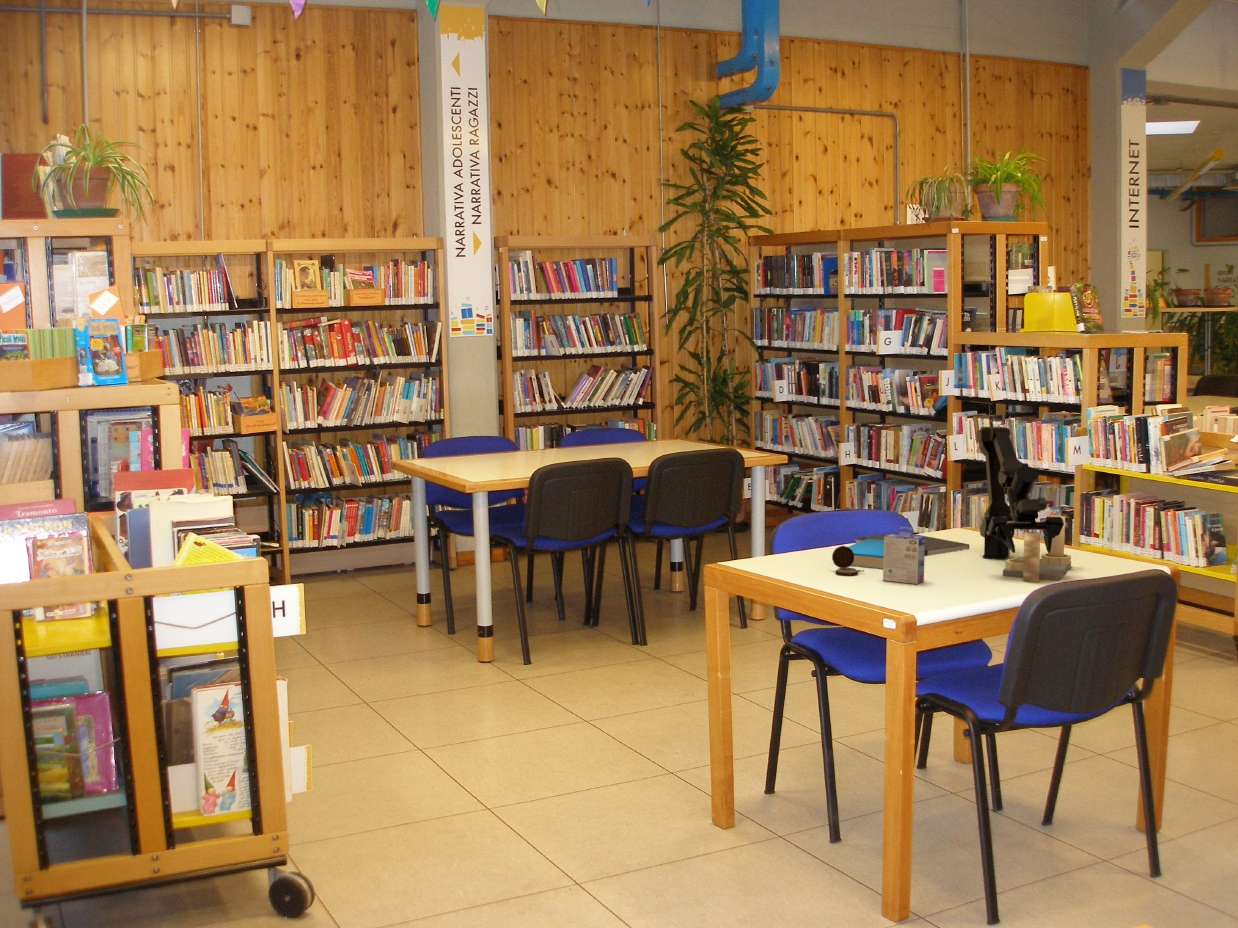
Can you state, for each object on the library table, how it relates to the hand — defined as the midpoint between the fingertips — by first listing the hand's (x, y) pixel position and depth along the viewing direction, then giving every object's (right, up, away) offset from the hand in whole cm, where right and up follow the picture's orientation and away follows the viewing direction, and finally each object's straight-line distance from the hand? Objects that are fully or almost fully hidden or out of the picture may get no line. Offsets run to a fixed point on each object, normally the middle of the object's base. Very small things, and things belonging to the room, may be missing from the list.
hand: (1031, 551), depth 312 cm
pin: (0, -8, +1) cm, 8 cm away
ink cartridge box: (-33, -8, +2) cm, 34 cm away
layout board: (+6, -6, +14) cm, 17 cm away
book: (-34, -5, +32) cm, 47 cm away
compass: (-46, -7, +13) cm, 48 cm away
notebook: (-19, -3, +54) cm, 57 cm away
